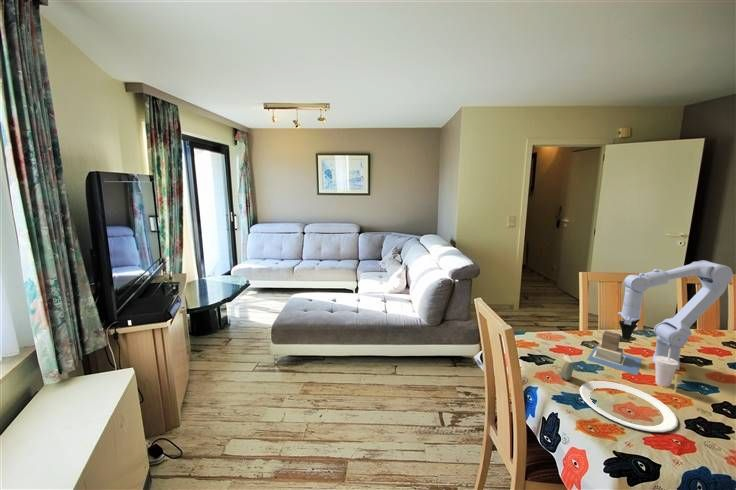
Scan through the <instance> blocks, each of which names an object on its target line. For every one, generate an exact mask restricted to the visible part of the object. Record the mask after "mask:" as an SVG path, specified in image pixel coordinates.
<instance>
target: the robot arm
mask: <svg viewBox="0 0 736 490" xmlns="http://www.w3.org/2000/svg"><path fill="white" fill-rule="evenodd" d="M691 276H696V278H698V280H699V281H700V284H701V286H702V287H701V288H700V289H699V290H698V291H697V292H696V294H694V295H693V296H692V298H690V300H689V301H688V302H686V303H685V305H684V306H683V307H682V308H681V309H680V310H679V311H678V312H677V313H676V314H675V315H674V316H673V317H670V318H665V319H664V320H663V321H661V322H659V323H657V324H655V326H654V327H653V333H654V334H655V336H656V343H655V350H654V353H653V356H652V360H651V362H652V363H654V364H655V361H654V358H655V356H665V357H668V352H669V349H671V354H670V358H671V359H674V360H676V361H677V362H678V363H679V366H678V367H677V368H676V371H680V364H681V363H680V356H681V349H682V348H683V347H684V346H685V345H686V344H687V343H688V341H689V338H690V337H691V336H692V331H691V328H690V327H692V325H693V324H694V323H696V322H697V320H698V319H699V318H701V316H702V315H703V314H704V313H706V311H707V310H708V309H710V307H711V306H712V305H713V304H714V303H715V302H716V301H717V300H718V299H719V298H720V297H721V296H722V295H723V294H724V293H725V291H726V289H727V287H728V284H729V283H730V282H731V280H732V279H734V278H735V277H734V273H733V270H732V269H731V267H730V266H727V265H726V264H719V263H715V262H711V261H709V260H703V259H702V260H698V261H692V262H691V263H689V264H686V265H682V266H679V267H676V268H672V269H669V270H665V271H664V270H663V269H658V268H655V269H652V271H649V272H644V273H643V272H640V273H638V274H629V275H627V276H626V277H625V278H624V279H623V281H622V283H623V286H624V290H625V291H624V297H623V303H622V309H621V311H618V313H617V315H619V316H621V317H622V319H623V320H621V319H620V320H619V321H618V324H619V326H620V328H621V337H622V339H623V340H626V341H630V340H631V337H632V335H633V332H634V331H635V330H636V329H637V328H638V325H637V323H639V321H640V320H641V312H642V306H643V305H642V304H643V300H644V294H645V292H647V290H649V288H652V287H654V288H655V287H658V286H662V285H666V284H668V283H669V281H670V280H676V279H681V278H685V277H691Z"/></svg>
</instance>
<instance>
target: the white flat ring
mask: <svg viewBox="0 0 736 490" xmlns="http://www.w3.org/2000/svg"><path fill="white" fill-rule="evenodd" d="M596 388H598V389H611V390H612V389H613V390H618V391H622V392H626V393H628V394H632V395H634V396H637V397H639V398H641V399H643V400H644V401H646V402H648V403H650V404H651V405H652V406H653V407H655V408H656V409H657V410H658V409H659V410H660V411H659V412H660V413H661V415H662V417H663V419H662V420H663V421H662V422H661V423H660V424H657V425H643V424H642V425H641V424H635V423H632V422H629V421H624V420H623V419H619V418H617V417H615V416H613V415H611V414H610V413H608V412H606V411H604V410H603V409H602V408H601V407H599V406H598V405H597V404H596V403H595V402H594V401H593V399H592V398H591V399H592V400H591V399H590V396H591V394H590V392H591V393H592V392H593V391H595V390H597V389H596ZM594 389H595V390H594ZM579 395H580V396H581V399H582V401H584V403H585V404H587V406H588V407H589V408H591V409H592V410H593V411H595V412H596V413H598V414H599V415H601V416H603V417H605V418H606V419H608V420H610V421H612V422H615V423H616V424H619V425H622V426H624V427H626V428H627V427H628V428H630V429H634V430H637V431H643V432H649V433H663V434H664V433H667V432H672V431H674V430H675V429H676V428H678V424H679V419H678V417H677V416H676V414H675V413H674V411H672V410H671V409H670V407H668V405H666V404H664V402H662V401H661V400H659V399H658V398H656V397H654V396H652V395H651V394H648V393H646V392H644V391H642V390H640V389H636V388H635V387H631V386H629V385H625V384H621V383H618V382H612V381H605V380H592V381H587V382H585V383H582V384H581V386H580V387H579ZM589 395H590V396H589ZM592 401H593V402H594V403H595V404H594V403H593V402H592ZM597 406H598V407H597Z"/></svg>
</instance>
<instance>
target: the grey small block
mask: <svg viewBox="0 0 736 490" xmlns="http://www.w3.org/2000/svg"><path fill="white" fill-rule="evenodd" d="M574 368H575V362H574V361H573V359H572V357H571V356H570V355H568V354H564V355H562V358H561V359H560V361H559V364H558V367H557V373H558V378H560V379H561V380H563V381H565V382H570V380H571V379H572V375H573V372H574Z"/></svg>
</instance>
